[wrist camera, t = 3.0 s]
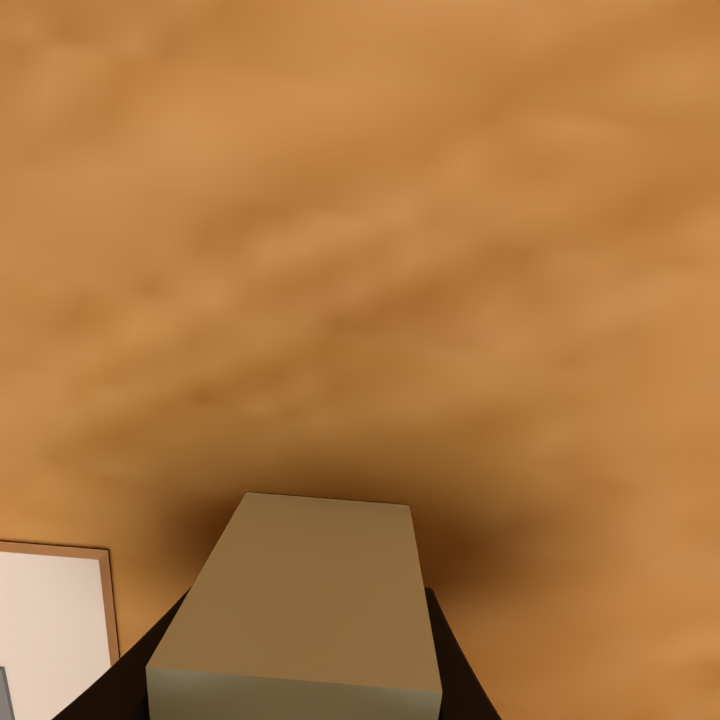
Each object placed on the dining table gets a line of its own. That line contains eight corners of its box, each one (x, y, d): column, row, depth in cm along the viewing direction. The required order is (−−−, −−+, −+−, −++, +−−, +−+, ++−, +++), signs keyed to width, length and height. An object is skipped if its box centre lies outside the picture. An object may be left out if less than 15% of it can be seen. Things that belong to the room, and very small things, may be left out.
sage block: (393, 635, 12) (411, 882, 7) (246, 623, 12) (161, 860, 7) (409, 505, 11) (442, 691, 6) (246, 491, 11) (145, 667, 6)
